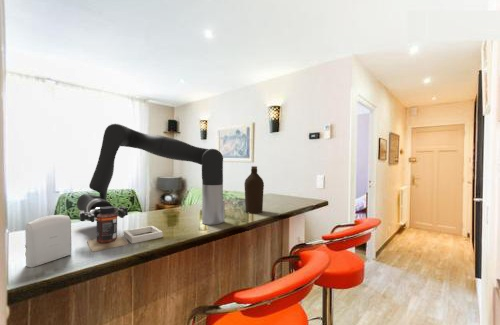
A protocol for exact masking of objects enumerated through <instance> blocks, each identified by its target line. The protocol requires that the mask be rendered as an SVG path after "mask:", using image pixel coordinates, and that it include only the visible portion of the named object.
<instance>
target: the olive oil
mask: <svg viewBox="0 0 500 325" xmlns="http://www.w3.org/2000/svg"><path fill="white" fill-rule="evenodd" d="M264 187H265V185H264V180H263V178H262V177H261V175H259V173H258V166H255V165H254V166H253V165H252V166H251V168H250V174H249V175H248V176H247V177H246V178H245V180H244V204H245V206H244V208H245V211H244V212H245V213H247V212H249V213H248V214H259V213H258V212H261V213H263V211H264V210H263V209H264V206H263V205H264V204H263V203H264Z"/></svg>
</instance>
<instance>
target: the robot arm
mask: <svg viewBox="0 0 500 325" xmlns="http://www.w3.org/2000/svg"><path fill="white" fill-rule="evenodd" d="M120 147H125V148H126V147H128V148H133V149H138V150H142V151H144V152H147V153H150V154H152V155H155V156H157V157H160V158H161V157H162V158H166V159H168V160H169V159H170V160H175V161H176V160H177V161H182V162H189V163H190V162H191V163H195V164H198V165H201V183H202V185H201V186H202V187H201V188H202V189H201V191H202V192H201V195H202V196H201V200H202V201H201V203H202V204H201V207H202V208H201V216H202V217H201V222H202V224H204V225H210V226H214V225H220V224H222V223H225V220H226V219H225V218H226V217H225V215H226V214H225V211H226V210H225V209H226V208H225V204H226V203H225V202H226V201H225V200H224V155H223V154H222V153H221V151H219V150H218V149H215V148H205V147H198V146H195V145H193V144H189V143H187V142H185V141H181V140H178V139H176V138H172V137H168V136H165V135H158V134H157V135H156V134H150V133H149V134H148V133H144V132H140V131H137V130H134V129H132V128H129V127H127V126H124V125H123V124H119V123H111V124H108V126H106V127H105V130H104V133H103V137H102V142H101V147H100V153H99V157H98V161H97V164H96V167H95V169H94V172H93V174H92V177H91V180H90V182H89V189H91V190H93V191H95V192H97V193H99V195H95V194H89V193H84V194H82V195H81V196H79V197H78V199H77V201H76V207H77V209H78V210H79V214H78V215H79V221H80V222H85V220H86V221H87V222H91V223H95V222H97V215H98V214H100V213H101V212H100V208H101V207H107V206H113V205H112V203H110V202H109V201H107V194H108V189H109V186H110V184H111V182H112V178H113V175H114V170H115V160H116V155H117V153H118V151H119V149H120ZM113 207H114V212H115V213H116V214H117V217H119V218H121V219H124V218H125V217H126V216H128V215H129V214H128V212H129V210H128V209H129V208H128V207H126V206H124V205H123V206H122V205H120V206H119V207H117V206H113Z"/></svg>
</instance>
